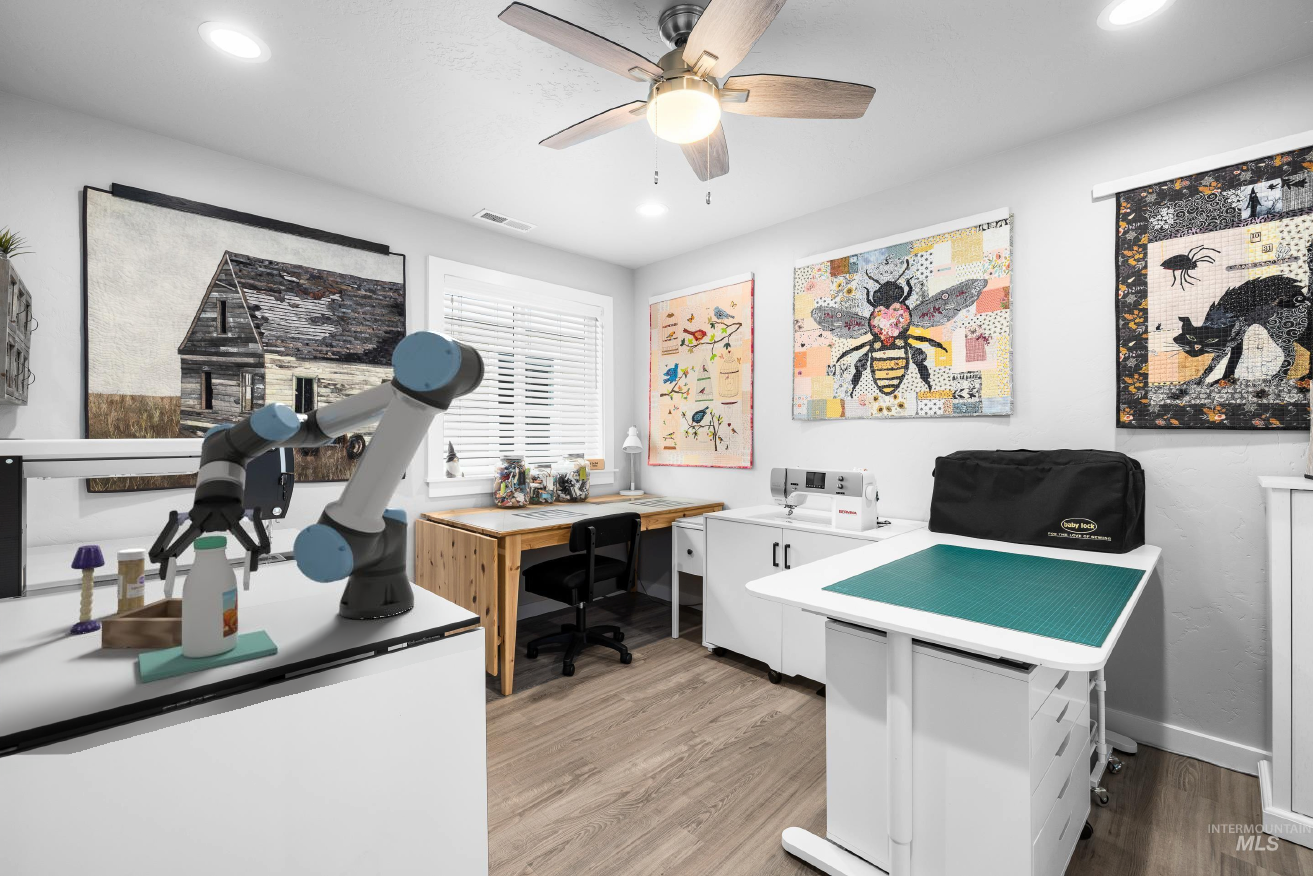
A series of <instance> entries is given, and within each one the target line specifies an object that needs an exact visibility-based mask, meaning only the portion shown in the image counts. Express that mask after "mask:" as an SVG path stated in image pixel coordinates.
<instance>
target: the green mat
mask: <svg viewBox="0 0 1313 876" xmlns="http://www.w3.org/2000/svg"><path fill="white" fill-rule="evenodd" d="M278 648H279V647H278V646H277V645H276V643H275V642H274V640H273V639H272V638H271V637H270V635H268V633H267V632H266V630H265V629H263V630H258V631H253V632H248V633H244V634H238V643H237V645H236V647H234V648H233V649H231V650H229V651H227V652H224V653H221V654H217V655H213V656H208V657H200V658H189V657H185V656H184V655H183V653H182V646H180V647H175V648H163V649H160V650H159V649H158V650H154V651H150V652H145V653H139V654H138V663H139V664H138V665H139V672H140V679H141V684H143V683H147V682H148V683H149V682H152V681H157V680H162V679H166V678H170V677H175V676H179V675H184V674H188V673H193V672H197V671H202V670H207V669H211V668H216V667H220V666H225V665H229V664H235V663H238V662H239V663H240V662H243V661H244V662H245V661H247V660H252V659H256V658H262V657H266V656H269V654H271V655H273V654H272V653H275V654H277V653H278ZM276 652H277V653H276ZM265 655H266V656H265Z"/></svg>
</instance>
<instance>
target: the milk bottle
mask: <svg viewBox="0 0 1313 876" xmlns="http://www.w3.org/2000/svg"><path fill="white" fill-rule="evenodd" d="M192 545H193V552H194V554H195V555H194V560H193V563H192V565H191V567H190V569H189V571H188V572H187V575H186V576H185V579H184V581H183V585H182V592H181V593H182V597H181V598H182V653H183V655H184V656H185V657H189V658H200V657H208V656H213V655H217V654H221V653H224V652H227V651H229V650H231V649H233V648H234V647H236V645H237V643H238V635H239V609H238V608H239V600H238V597H239V595H238V593H239V591H238V580H237V576H236V573H235V570H234V569H233V568H232V565H231V564H230V563H229V560H228V558H227V555H226V550H227V548H228V547H227V545H228V538H227V536H225V535H211V536H209V535H208V536H200V537H199V538H196V539H195V540H194V542H193V543H192Z"/></svg>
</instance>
